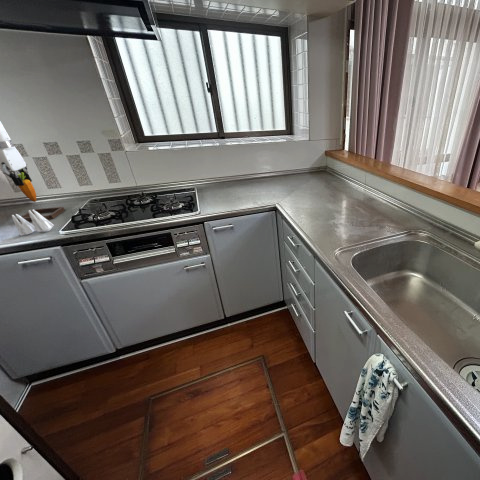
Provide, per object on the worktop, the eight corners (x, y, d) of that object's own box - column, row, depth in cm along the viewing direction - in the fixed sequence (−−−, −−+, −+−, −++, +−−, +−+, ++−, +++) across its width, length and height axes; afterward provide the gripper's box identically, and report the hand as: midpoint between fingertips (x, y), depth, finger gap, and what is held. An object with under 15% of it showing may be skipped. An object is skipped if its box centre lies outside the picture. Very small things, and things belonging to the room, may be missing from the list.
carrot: (26, 204, 133) (8, 174, 126) (32, 200, 137) (15, 171, 130) (38, 203, 134) (21, 173, 127) (43, 199, 139) (27, 171, 131)
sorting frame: (18, 222, 133) (16, 219, 132) (34, 212, 144) (32, 209, 143) (52, 219, 136) (50, 215, 135) (65, 209, 147) (63, 206, 146)
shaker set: (56, 228, 128) (44, 206, 122) (51, 232, 124) (39, 210, 119) (25, 232, 125) (11, 210, 119) (19, 236, 121) (5, 214, 116)
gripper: (5, 142, 128) (26, 179, 137) (-24, 149, 114) (2, 190, 123) (24, 141, 130) (44, 178, 139) (-3, 148, 116) (21, 188, 125)
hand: (24, 183), depth 131 cm, fingers closed on carrot, 5 cm apart
